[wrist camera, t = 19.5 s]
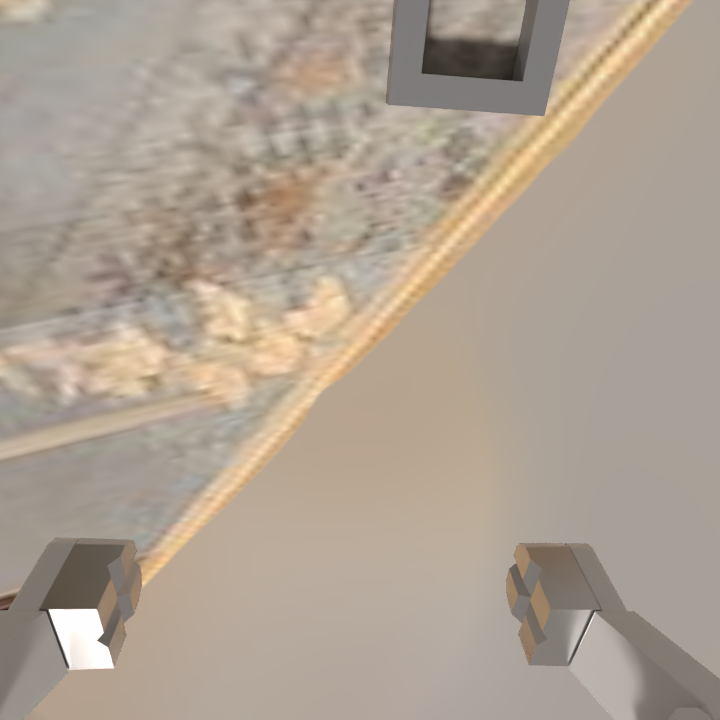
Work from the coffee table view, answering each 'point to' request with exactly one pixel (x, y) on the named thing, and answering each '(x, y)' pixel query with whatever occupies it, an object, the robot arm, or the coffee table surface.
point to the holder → (476, 93)
